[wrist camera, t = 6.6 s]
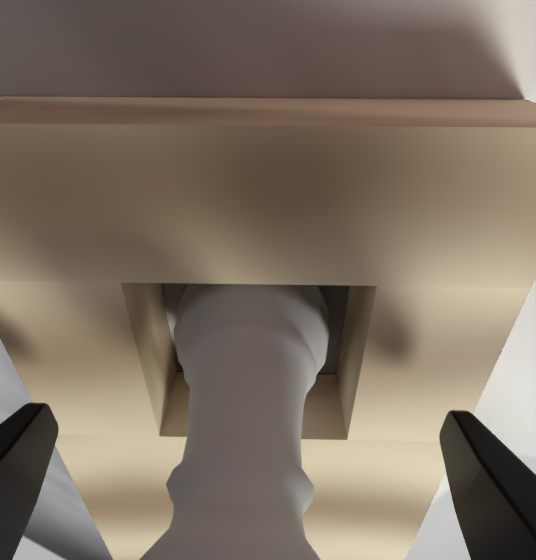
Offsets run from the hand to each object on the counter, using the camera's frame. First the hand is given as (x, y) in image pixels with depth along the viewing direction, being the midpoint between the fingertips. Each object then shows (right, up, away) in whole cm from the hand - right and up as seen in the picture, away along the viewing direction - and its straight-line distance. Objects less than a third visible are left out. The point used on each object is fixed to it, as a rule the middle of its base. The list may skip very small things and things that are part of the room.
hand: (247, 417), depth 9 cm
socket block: (0, 0, +5) cm, 5 cm away
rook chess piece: (0, +2, +3) cm, 4 cm away
